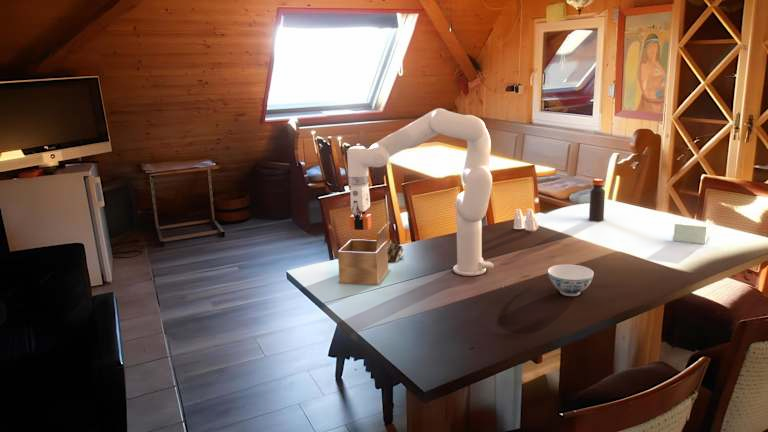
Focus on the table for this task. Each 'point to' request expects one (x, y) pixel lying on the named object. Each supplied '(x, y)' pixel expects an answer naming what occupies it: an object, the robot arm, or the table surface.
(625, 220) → the table surface
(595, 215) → the bottle
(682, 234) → the l-shaped corner panel
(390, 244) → the chocolate cake
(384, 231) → the flap
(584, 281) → the chinaware
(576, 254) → the table surface
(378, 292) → the table surface
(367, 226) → the block
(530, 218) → the shaker set
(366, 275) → the carton
